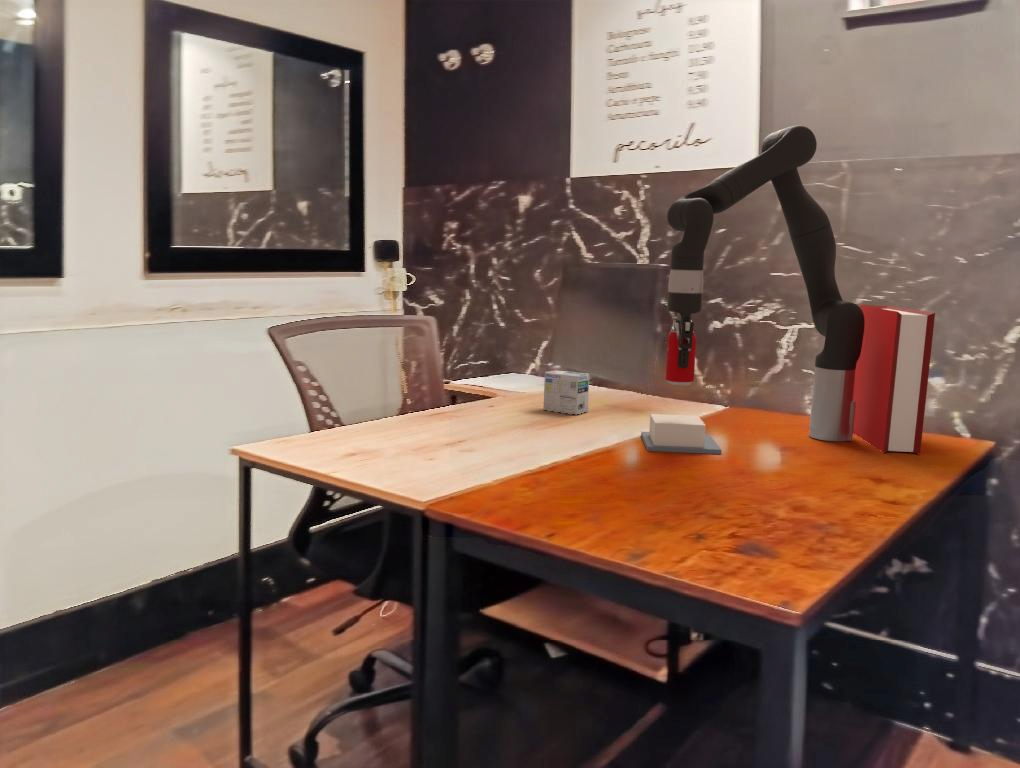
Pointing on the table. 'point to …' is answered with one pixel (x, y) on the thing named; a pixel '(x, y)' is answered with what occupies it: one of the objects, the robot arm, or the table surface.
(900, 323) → the book
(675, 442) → the butter dish
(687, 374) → the beverage can
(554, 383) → the light bulb box
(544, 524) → the table surface
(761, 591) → the table surface
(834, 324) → the robot arm
